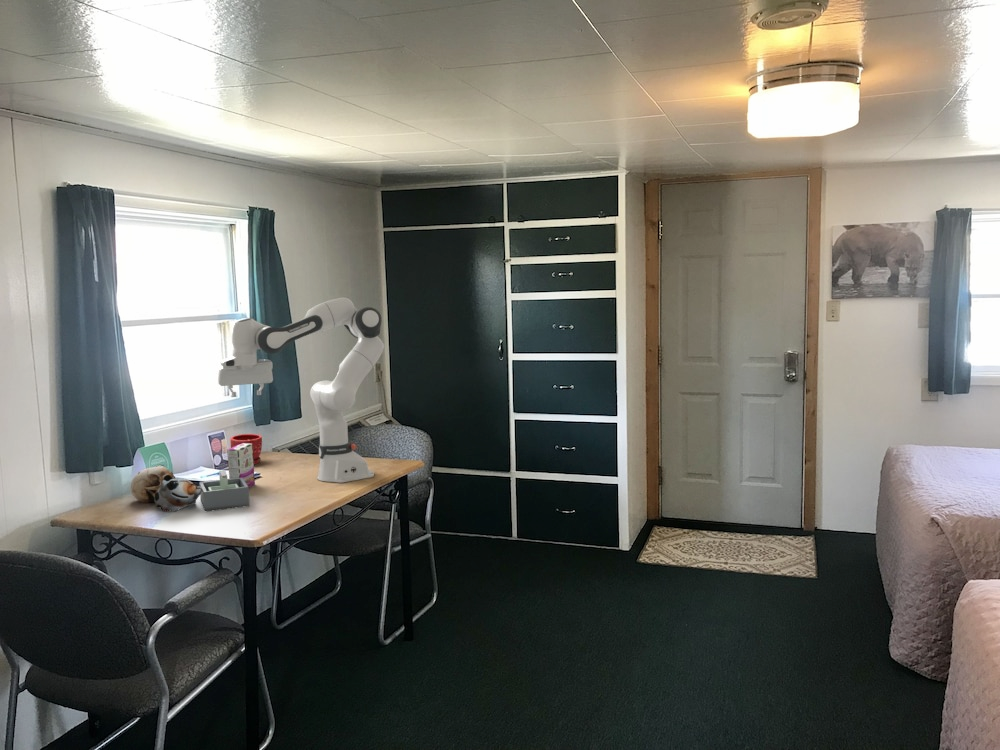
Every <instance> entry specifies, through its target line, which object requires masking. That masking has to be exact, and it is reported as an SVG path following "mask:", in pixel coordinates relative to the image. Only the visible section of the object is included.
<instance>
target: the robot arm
mask: <svg viewBox="0 0 1000 750" xmlns="http://www.w3.org/2000/svg"><path fill="white" fill-rule="evenodd" d="M381 315H382V314H381V313H380V311H379V310H378V309H376V308H374V307H372V306H366V307H362V308H361V309H357V308H356V307H355V304H354V303H353V301H352V300H351V299H350V298H347V297H338V298H334V299H329V300H327V301H324V302H321V303H319V304H316V305H314V306H313V307H311V308H310V309H308V310H307V311H306V314H305V316H304V317H303V318H302V319H299V320H298V321H295V322H292V323H289V324H288V325H284V326H281V327H276V326H275V327H274V326H270V325H269V326H268V325H267V324H263V323H261V322H258V321H256V320H255V319H254V318H251V317H247V318H246V317H245V318H244V317H243V318H241V319H236V320H235V321H234V322H233V323H232V328H231V343H232V346H233V349H232V356H229V357H228V358H224V359H222V360H221V361H220V365H221V367H219V369H218V378H217V379H218V380H217V381H218V383H217V384H218V385H220V386H221V387H228V390H229V391H230V392H231V397H232V398H237V391H234V390H233V388H234V386H243V385H257V384H258V385H259V386H260V387H259V389H258V390H257V389H256V396H262V390H263V389H264V387H265V384H271V383H273V381H274V377H273V367H274V366H273V365H274V364H273V361H272V360H270V359H258V356H257V350H262V351H263V352H264V353H267V354H270V355H272V354H279V352H281V351H283V350H284V349H285V348H286V347H287V345H289V344H290V343H291V342H294V341H296V340H298V339H301V338H303V337H307V336H308V335H311V334H317V333H321V332H325V331H329V330H332V329H334V328H337V327H340V326H344V327H345V329H346V330H347V331H348V332H349V334H351V336H352V337H354V338H357V339H358V340H357V342H356V344H355V345H354V346H353V347H352V349H350V351H349V352H348V354H347V355H346V356H345V357H344V359H343V360H342V361H341V362H340V363H339V365H338V372H337V374H336V376H335V378H334V379H333V380H328V379H327V380H326V379H325V380H321V381H317V382H315V383H314V384H313V385H312V387H311V388H310V390H309V395H310V398H311V400H312V402H313V404H314V409H315V412H316V417H317V420H318V421H317V422H318V428H319V429H318V430H319V443H318V455H319V467H318V468H319V469H318V473H317V481H318V480H319V481H321V482H331V483H339V484H341V483H346V482H353V481H358V480H365V479H371V478H373V477H375V472H374V471H373V470H371V469H370V468H369V466H368V462H367V460H366V459H365V458H364V457H362V455H360V454H359V453H357V452H355V451H354V450H356V449H357V445H356V444H355V443H351V442H350V441H349V431H348V422H347V420H346V417H345V416H344V413H343V412H344V411H349V410H350V409H351V408H352V407H353V406H354V404H355V403H356V394H357V392H358V389H359V387H360V385H361V384H362V382H363V381H364V379H365V378H366V376H367V375H368V374H369V373H370V372H371V370H372V369H373V368H374V366H375V365H376V363H377V362H378V360H379V359H380V357H381V355H382V354H383V351H384V348H385V345H384V344H385V343H384V342H383V340H382V339H381V338H380V337H379V336H380V334H381V328H382V316H381Z"/></svg>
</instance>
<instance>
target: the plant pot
mask: <svg viewBox="0 0 1000 750" xmlns="http://www.w3.org/2000/svg"><path fill="white" fill-rule="evenodd" d="M229 442H230V448H232V447H235V446H237V445H239V444H242V443H248V444H252V447H253V463H254V465H257V464H259V463H260V461H261V457H260V456H261V452H262V447H263V439H262V435H260V434H257V433H255V434H254V433H244V434H243V433H242V434H238V435H237V434H236V435H234V436H231V437H230V441H229Z"/></svg>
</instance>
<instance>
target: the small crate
mask: <svg viewBox="0 0 1000 750" xmlns="http://www.w3.org/2000/svg"><path fill="white" fill-rule="evenodd" d="M218 475H219V480H220V486H214V487H208V491H212V490H220V489H229V488H237V487H238V485H237V484H231V485H228V479H229V477H228V474H227V473H226V471H225V470H224V469H223V470H222V469H221V470H219V473H218Z"/></svg>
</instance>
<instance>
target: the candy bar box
mask: <svg viewBox="0 0 1000 750" xmlns="http://www.w3.org/2000/svg"><path fill="white" fill-rule="evenodd" d="M227 464H228V476H229V477H228V479H234V478H243V480H244V481H245V483H246V484H247V486H248V488H250V487H252V486H254V485H255V484H256V480H255V477H256V476H255V464H254V463H253V447H252V444H248V443H242V444H239V445H237V446H235V447H232V448H231V447H230V448H228V449H227Z"/></svg>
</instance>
